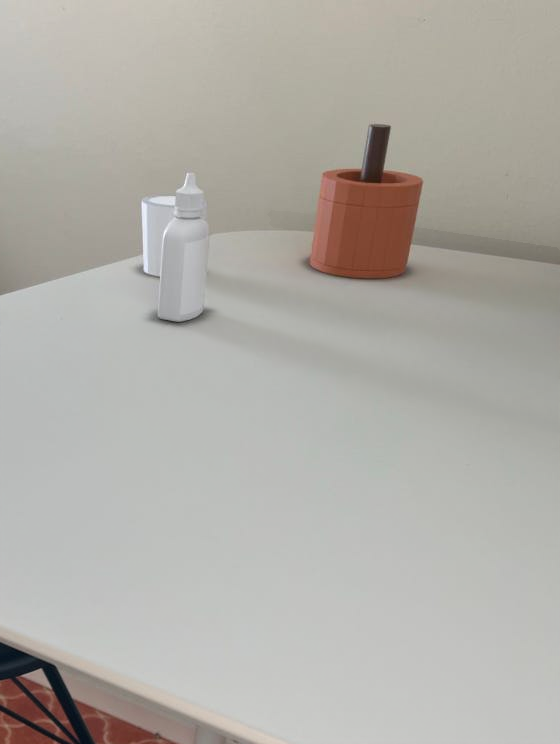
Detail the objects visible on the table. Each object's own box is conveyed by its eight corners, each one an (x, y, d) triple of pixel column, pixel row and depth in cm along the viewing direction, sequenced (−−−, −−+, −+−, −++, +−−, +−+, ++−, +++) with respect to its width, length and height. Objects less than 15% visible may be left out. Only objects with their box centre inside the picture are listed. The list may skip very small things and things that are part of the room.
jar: (384, 255, 113) (400, 168, 108) (420, 278, 105) (438, 185, 100) (298, 255, 112) (309, 168, 107) (326, 279, 104) (340, 186, 99)
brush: (370, 253, 110) (393, 122, 103) (386, 264, 106) (411, 128, 99) (329, 253, 110) (349, 122, 102) (343, 264, 106) (365, 128, 98)
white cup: (177, 260, 109) (182, 191, 105) (215, 274, 104) (221, 203, 101) (125, 267, 106) (128, 196, 102) (161, 282, 101) (166, 209, 98)
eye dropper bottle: (219, 317, 92) (232, 175, 85) (168, 324, 89) (178, 180, 83) (192, 305, 95) (203, 167, 88) (142, 312, 92) (150, 171, 86)
